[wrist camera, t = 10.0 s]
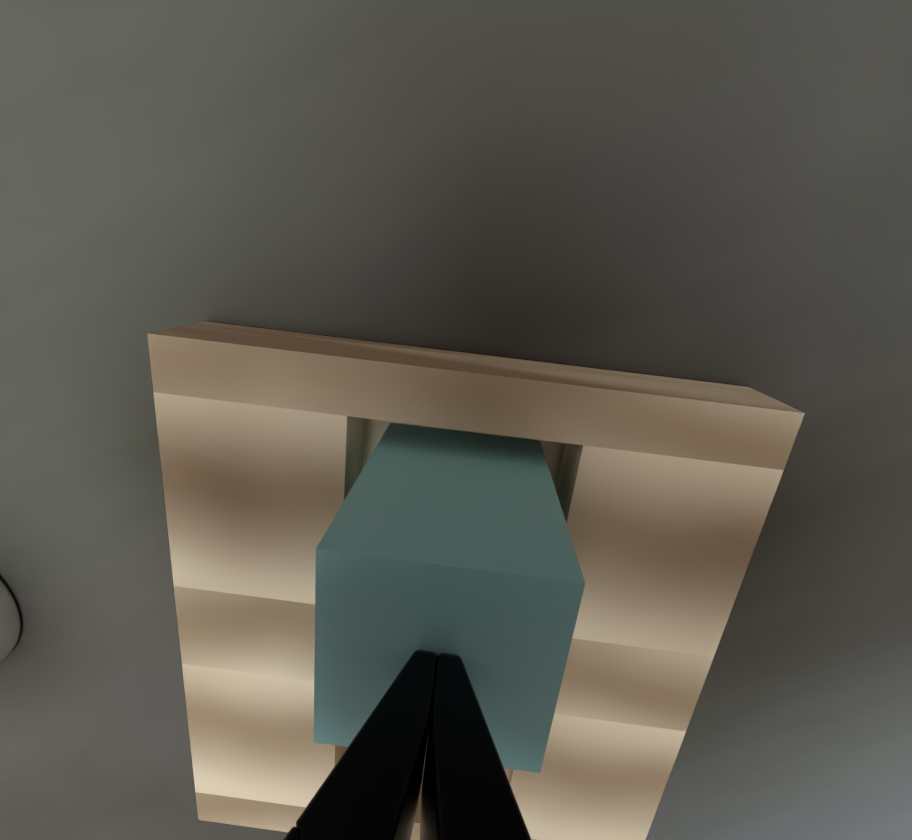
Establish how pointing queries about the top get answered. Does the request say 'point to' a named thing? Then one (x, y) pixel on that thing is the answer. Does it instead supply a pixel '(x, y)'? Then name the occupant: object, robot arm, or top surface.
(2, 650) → the beer glass
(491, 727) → the teal block
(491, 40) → the top surface
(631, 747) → the pocket board
